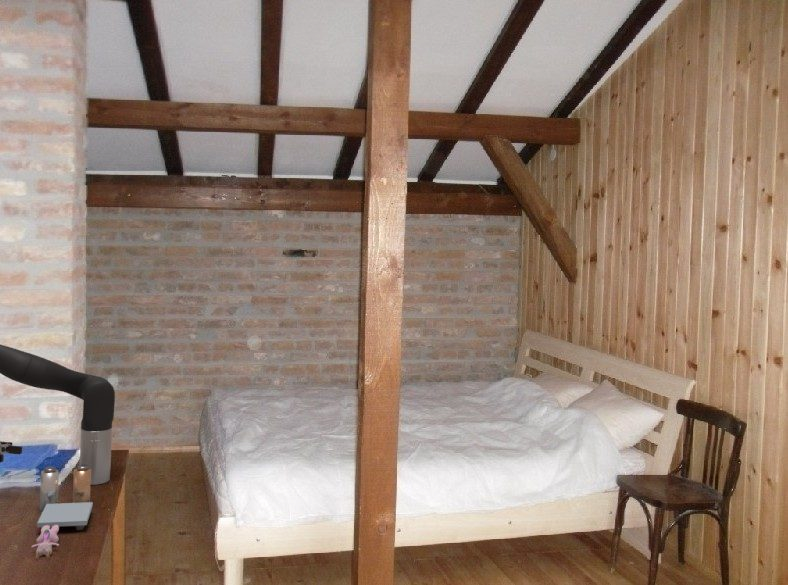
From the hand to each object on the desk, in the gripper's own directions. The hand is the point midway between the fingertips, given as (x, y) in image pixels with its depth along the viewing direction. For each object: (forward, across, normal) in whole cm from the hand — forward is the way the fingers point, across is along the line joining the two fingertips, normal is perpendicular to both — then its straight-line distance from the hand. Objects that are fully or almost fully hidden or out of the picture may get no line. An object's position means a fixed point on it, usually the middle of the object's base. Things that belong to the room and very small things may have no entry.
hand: (12, 454), depth 206 cm
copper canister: (+19, +4, +15) cm, 24 cm away
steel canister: (+12, 0, +15) cm, 19 cm away
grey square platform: (+22, -8, +15) cm, 27 cm away
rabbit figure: (+25, -23, +15) cm, 37 cm away
